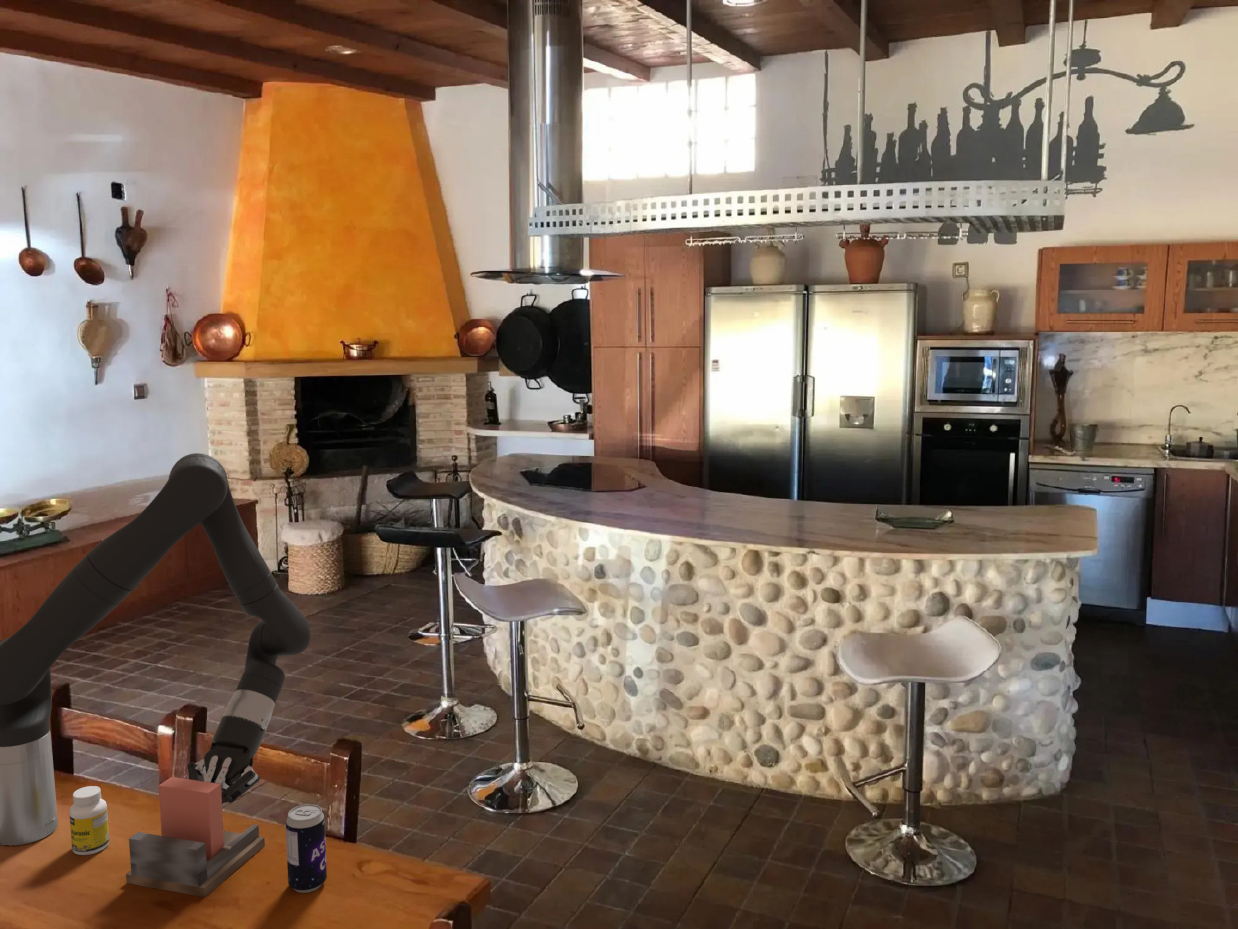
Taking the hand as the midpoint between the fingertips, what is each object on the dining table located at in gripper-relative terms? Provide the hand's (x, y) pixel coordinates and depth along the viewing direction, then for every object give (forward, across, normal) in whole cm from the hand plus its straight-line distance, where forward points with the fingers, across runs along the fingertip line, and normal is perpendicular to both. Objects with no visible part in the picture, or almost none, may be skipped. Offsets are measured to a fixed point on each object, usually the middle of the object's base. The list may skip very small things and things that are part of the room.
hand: (200, 826), depth 155 cm
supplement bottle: (+6, -20, +3) cm, 21 cm away
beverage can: (+6, +20, +3) cm, 21 cm away
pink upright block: (+4, 0, +1) cm, 5 cm away
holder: (+5, 0, +3) cm, 6 cm away
